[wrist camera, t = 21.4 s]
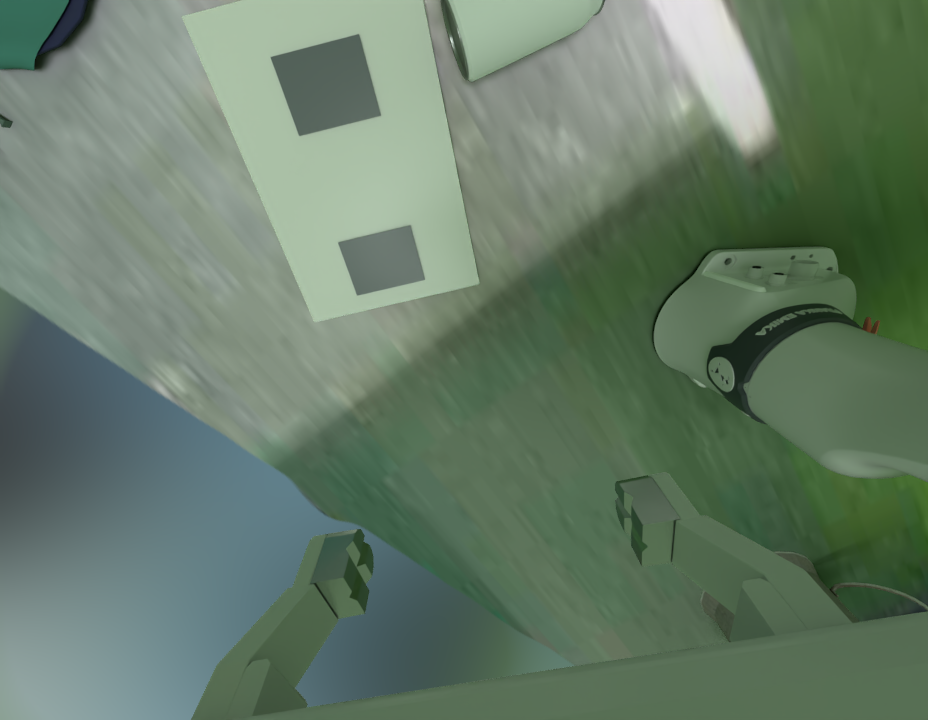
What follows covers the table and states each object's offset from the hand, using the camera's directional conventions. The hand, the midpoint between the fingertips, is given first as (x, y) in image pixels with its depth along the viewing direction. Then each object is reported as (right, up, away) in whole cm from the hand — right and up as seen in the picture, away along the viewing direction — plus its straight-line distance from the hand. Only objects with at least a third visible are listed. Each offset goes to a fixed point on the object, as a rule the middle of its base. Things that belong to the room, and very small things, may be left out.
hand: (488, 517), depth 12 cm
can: (-2, +32, +19) cm, 37 cm away
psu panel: (-12, +24, +26) cm, 37 cm away
